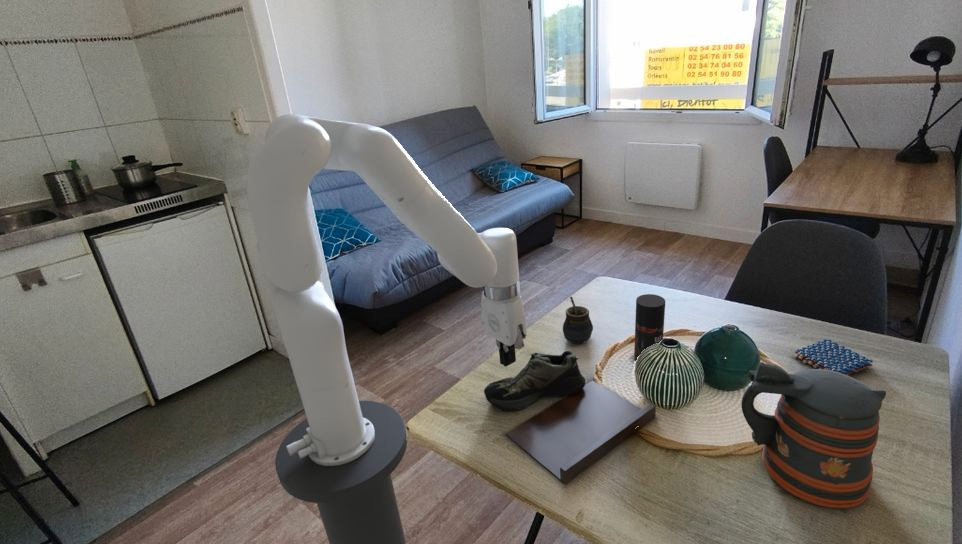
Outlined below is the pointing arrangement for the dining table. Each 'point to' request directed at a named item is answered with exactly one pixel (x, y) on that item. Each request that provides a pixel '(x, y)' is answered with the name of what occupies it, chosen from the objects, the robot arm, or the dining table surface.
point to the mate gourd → (577, 324)
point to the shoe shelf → (580, 430)
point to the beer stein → (816, 433)
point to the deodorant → (648, 322)
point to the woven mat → (833, 357)
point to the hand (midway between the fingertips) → (508, 362)
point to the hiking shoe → (537, 381)
